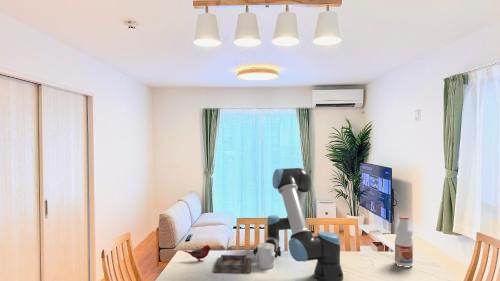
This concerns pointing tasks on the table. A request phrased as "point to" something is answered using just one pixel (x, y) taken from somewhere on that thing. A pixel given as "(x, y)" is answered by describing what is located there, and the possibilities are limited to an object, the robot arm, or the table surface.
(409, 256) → the fruit juice
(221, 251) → the table surface
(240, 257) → the brown square wooden tray
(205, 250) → the decorative bird figurine
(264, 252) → the candle holder
